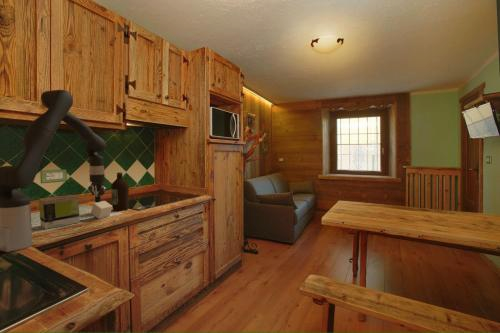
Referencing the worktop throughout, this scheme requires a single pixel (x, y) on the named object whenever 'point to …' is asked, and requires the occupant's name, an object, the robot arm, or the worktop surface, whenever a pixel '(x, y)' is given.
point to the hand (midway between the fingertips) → (98, 202)
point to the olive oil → (120, 193)
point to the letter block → (101, 209)
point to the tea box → (59, 211)
